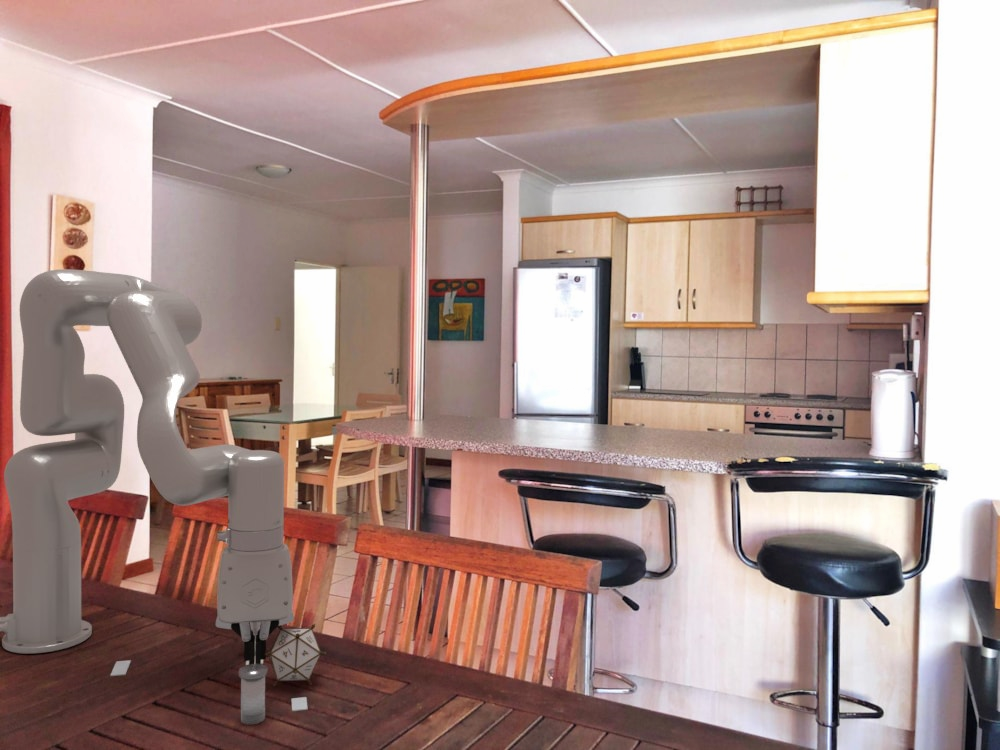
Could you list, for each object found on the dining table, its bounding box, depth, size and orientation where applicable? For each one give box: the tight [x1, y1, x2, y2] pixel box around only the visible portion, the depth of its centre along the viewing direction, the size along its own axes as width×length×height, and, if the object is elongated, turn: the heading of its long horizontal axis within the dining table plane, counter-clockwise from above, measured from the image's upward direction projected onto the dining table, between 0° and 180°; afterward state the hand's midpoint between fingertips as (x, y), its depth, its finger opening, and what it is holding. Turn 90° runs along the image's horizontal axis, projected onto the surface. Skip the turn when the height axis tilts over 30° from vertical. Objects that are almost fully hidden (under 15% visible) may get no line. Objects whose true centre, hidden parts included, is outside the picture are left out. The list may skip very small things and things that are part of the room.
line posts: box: [238, 621, 269, 726], centre depth 116 cm, size 4×26×7 cm, turn 16°
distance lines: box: [110, 659, 309, 712], centre depth 115 cm, size 27×22×1 cm
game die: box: [265, 623, 327, 687], centre depth 116 cm, size 9×8×10 cm
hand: (255, 664), depth 116 cm, fingers closed
